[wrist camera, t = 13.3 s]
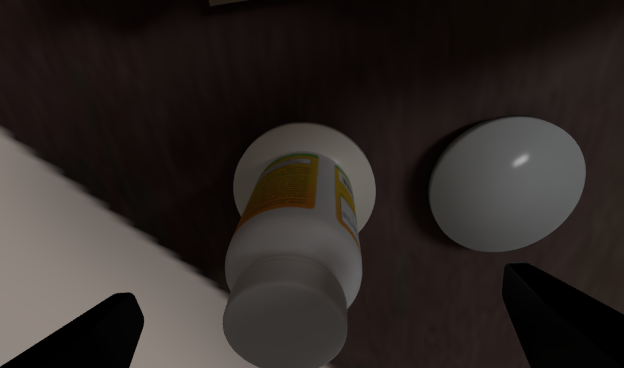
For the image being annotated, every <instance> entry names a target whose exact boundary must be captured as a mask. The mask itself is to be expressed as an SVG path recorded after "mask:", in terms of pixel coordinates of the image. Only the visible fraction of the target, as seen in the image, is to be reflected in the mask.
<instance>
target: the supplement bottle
mask: <svg viewBox="0 0 624 368" xmlns="http://www.w3.org/2000/svg"><path fill="white" fill-rule="evenodd" d="M225 275H226V281H227V284H228V287H229V289H230V291H231V293H230V296H229V299H228V302H227V305H226V309H225V312H224V316H223V329H224V334H225V336H226V339H227V341H228V342H229V344H230V346H231V347H232V348H233V349H234V351H235V352H236V353H237V354H239V355H240V356H241V357H242V358H243V359H245V360H246V361H248V362H249V363H252V364H253V365H256V366H258V367H260V368H319V367H321V366H323V365H325V364H327V363H328V362H329V361H331V360H332V359H333V358H334V357H335V356H336V355H337V354H338V353H339V352H340V350H341V349H342V347H343V345H344V343H345V340H346V336H347V309H348V307H349V306H350V305H351V304H352V302H353V301H354V299H355V297H356V295H357V293H358V291H359V288H360V284H361V279H362V259H361V251H360V243H359V236H358V228H357V219H356V212H355V203H354V196H353V190H352V186H351V183H350V180H349V178H348V176H347V175H346V173H345V171H344V170H343V169H342V168H341V167H340V166H339V165H338V164H337V163H336V162H335V161H333V160H332V159H330V158H329V157H327V156H324V155H322V154H319V153H315V152H309V151H297V152H291V153H287V154H284V155H282V156H280V157H278V158H276V159H275V160H273V161H272V162H271V163H270V164H269V165H268V166H267V167H266V168H265V169H264V170H263V172H262V174H261V175H260V177H259V179H258V181H257V183H256V185H255V187H254V190H253V192H252V194H251V197H250V199H249V201H248V203H247V206H246V208H245V210H244V212H243V215H242V216H241V218H240V221H239V223H238V226H237V228H236V230H235V233H234V235H233V237H232V239H231V242H230V245H229V248H228V251H227V254H226V259H225Z"/></svg>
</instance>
